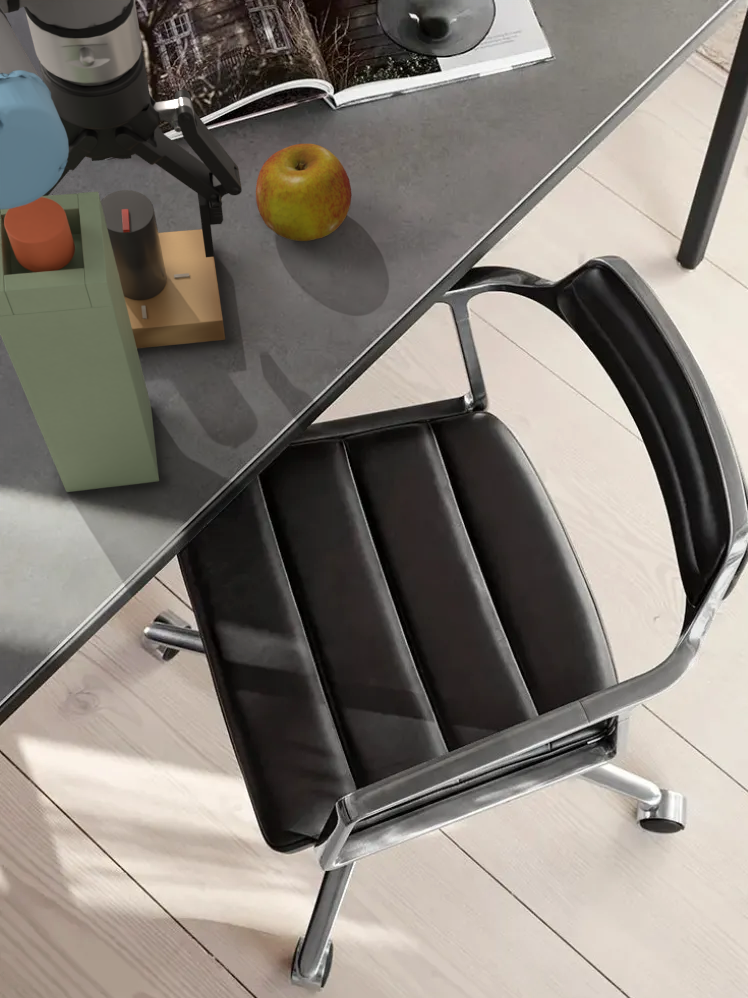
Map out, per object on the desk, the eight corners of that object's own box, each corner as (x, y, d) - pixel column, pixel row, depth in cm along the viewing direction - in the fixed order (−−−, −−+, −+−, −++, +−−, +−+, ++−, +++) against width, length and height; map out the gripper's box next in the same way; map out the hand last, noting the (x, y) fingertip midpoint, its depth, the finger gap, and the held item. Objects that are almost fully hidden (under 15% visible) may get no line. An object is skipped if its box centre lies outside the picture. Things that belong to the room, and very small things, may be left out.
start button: (16, 276, 76) (4, 245, 73) (13, 230, 78) (2, 198, 75) (77, 270, 77) (68, 240, 74) (73, 225, 78) (64, 194, 76)
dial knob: (113, 261, 106) (95, 188, 97) (165, 257, 106) (151, 185, 98) (115, 302, 104) (97, 232, 95) (168, 298, 104) (154, 228, 96)
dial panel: (73, 355, 105) (66, 334, 102) (66, 262, 109) (59, 239, 106) (225, 340, 107) (222, 319, 104) (212, 249, 111) (209, 226, 108)
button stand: (66, 492, 99) (-18, 293, 74) (61, 415, 102) (-22, 200, 77) (159, 481, 100) (106, 282, 75) (151, 406, 103) (98, 191, 79)
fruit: (306, 172, 116) (305, 110, 109) (369, 222, 114) (373, 163, 107) (238, 221, 113) (232, 161, 106) (302, 273, 111) (301, 216, 104)
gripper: (-90, 101, 79) (-11, 297, 98) (267, 80, 83) (276, 272, 102) (-90, 25, 82) (-14, 230, 101) (255, 9, 86) (265, 209, 105)
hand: (132, 252), depth 101 cm, fingers open, 13 cm apart
